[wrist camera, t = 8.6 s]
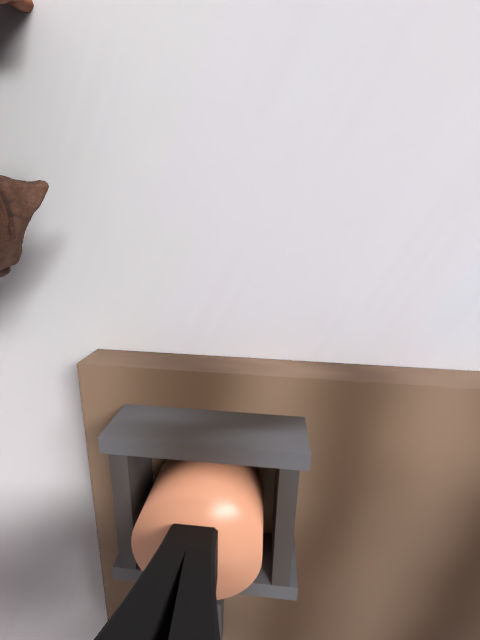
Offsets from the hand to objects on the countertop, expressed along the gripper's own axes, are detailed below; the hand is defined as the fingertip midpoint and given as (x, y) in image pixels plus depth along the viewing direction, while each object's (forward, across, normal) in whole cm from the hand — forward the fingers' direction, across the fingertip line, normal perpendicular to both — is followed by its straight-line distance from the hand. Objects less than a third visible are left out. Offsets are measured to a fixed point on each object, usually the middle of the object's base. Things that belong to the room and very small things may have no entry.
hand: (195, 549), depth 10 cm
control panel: (+4, -4, +7) cm, 9 cm away
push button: (+2, 0, 0) cm, 2 cm away
